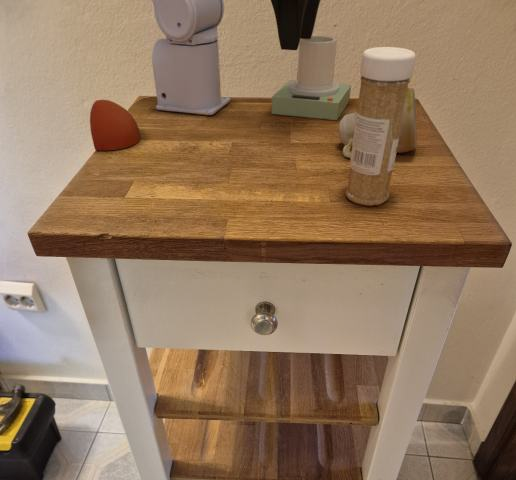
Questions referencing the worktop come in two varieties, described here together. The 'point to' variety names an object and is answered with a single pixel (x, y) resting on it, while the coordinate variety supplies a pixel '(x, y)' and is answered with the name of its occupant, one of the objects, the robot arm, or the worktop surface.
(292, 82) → the kitchen scale
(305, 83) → the white hollow cylinder
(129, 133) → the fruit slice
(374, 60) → the sprinkles bottle
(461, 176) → the worktop surface
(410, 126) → the mug
